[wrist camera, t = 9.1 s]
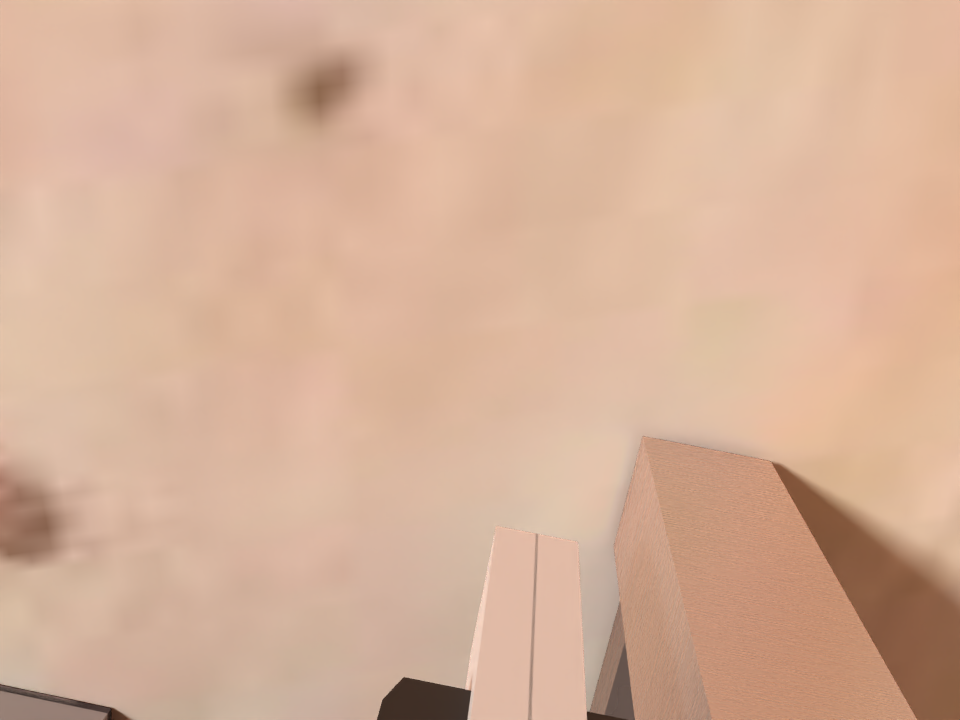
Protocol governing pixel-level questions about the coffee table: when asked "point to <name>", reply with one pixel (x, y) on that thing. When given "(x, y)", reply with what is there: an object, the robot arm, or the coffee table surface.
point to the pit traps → (46, 707)
